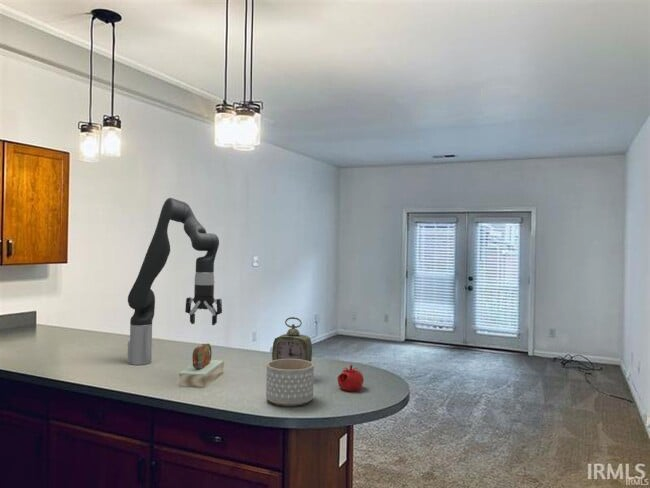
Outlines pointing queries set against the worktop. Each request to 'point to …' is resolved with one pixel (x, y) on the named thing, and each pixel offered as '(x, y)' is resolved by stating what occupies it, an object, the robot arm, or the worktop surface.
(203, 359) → the tin
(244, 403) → the worktop surface
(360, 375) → the pomegranate
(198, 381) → the plinth
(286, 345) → the tabletop clock
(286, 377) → the planter
